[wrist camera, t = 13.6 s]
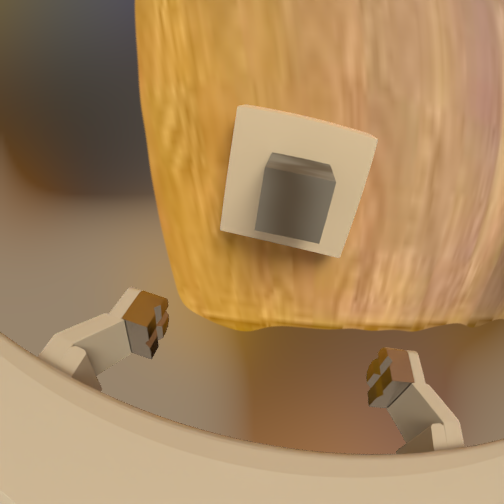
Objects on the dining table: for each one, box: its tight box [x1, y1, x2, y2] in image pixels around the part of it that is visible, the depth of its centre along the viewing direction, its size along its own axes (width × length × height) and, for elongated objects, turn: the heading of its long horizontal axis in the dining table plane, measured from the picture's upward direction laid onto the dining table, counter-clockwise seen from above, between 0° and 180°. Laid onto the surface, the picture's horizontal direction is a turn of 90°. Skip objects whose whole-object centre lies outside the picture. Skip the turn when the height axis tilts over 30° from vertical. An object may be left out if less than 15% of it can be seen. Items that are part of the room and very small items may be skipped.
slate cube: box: [255, 152, 336, 244], centre depth 23 cm, size 5×5×5 cm
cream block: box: [220, 105, 378, 258], centre depth 26 cm, size 12×12×4 cm
